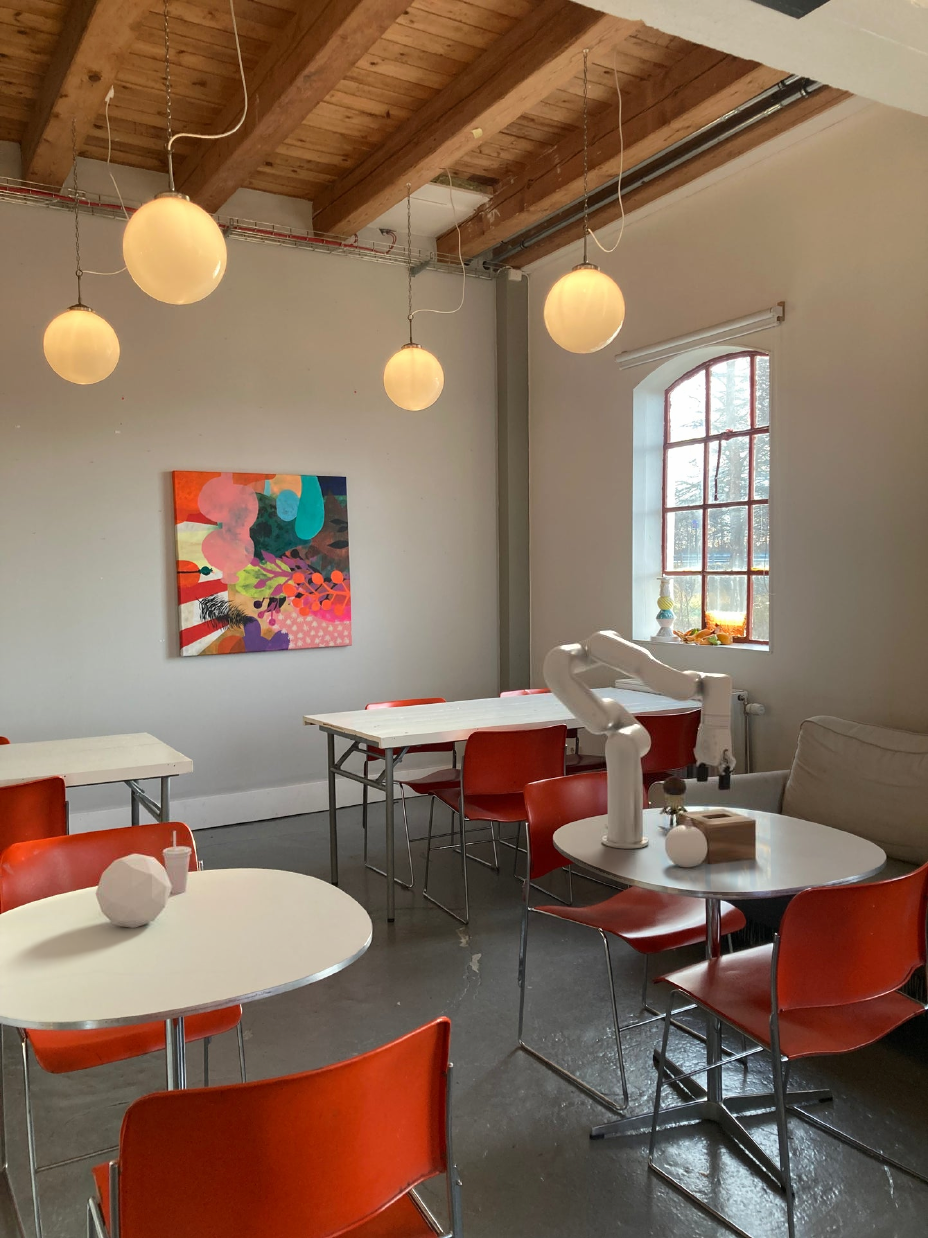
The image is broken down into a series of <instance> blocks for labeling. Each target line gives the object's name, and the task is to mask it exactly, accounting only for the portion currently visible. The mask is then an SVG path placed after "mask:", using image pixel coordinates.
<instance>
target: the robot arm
mask: <svg viewBox="0 0 928 1238" xmlns="http://www.w3.org/2000/svg"><path fill="white" fill-rule="evenodd" d="M602 665H604V666H607V667H609V668H611V669H614V670H615V671H618V672H620V673H622V674H624V675H627V676H629V677H631V678H633V679H634V680H636V681H637V683H640V684H642V685H644V686H645V687H647V688H648V689H650V690H653V691H655V692H656V693H659V694H661V695H663V696H665V697H667V698H670V699H671V700H675V701H677V702H687V701H690V700H694V699H701V710H700V723H699V726H698V730H697V735H696V744H695V747H694V748H693V754H694V760H695V762H696V763H695V766H696V782H698V783H707V782H708V781H709V766H712V767H717V769H718V771H719V773H720V774H718V784H717V785H718V786H717V787H718V788H717V789H718V790H719V791H728V790H729V791H730V789H731V776H732V774H733V771H734V770H735V767H736V763H737V760H736V758H735V757H734V756H733V754H732V751H733V750H732V745H733V744H732V732H731V720H732V719H731V718H732V695H733V694H732V693H733V679H732V677H731V676H730V675H728V674H724V673H706V672H700V671H695V670H685V671H680V670H678V669H675V668H673V667H671V666H668V665H666V664H664V663H662V662H661V661H659V660H657V659H656V658H655V657H654V656H653V655H652V654H651V652H650V651H649V650H648V649H646V648H645V647H641V646H639V645H637V644H635V643H632V642H630V641H628V640H625V639H624V638H623V636H622V635H621V634H619V633H618V632H616V631H614V630H601V631H596V632H594V633H593V634H592V635H590V636H589V638H587V639H584V640H581V641H578V642H575V643H572V644H564V645H559V646H556V647H553V648H552V649H551V650H549V651H548V653H547V655H546V656H545V659H544V661H543V667H542V671H543V672H542V673H543V679H544V682H545V684H546V685H547V688H548V689H549V690H550V691H551V693H552V694H553V695H554V696H555V697H556V698H557V700H559V701H560V702H561V704H563V706H565V708H566V709H567V710H568V711H569V712H570V713H571V714H572V715H573V717H575V718H576V720H577V721H579V723H580V724H581V725H582V726H583V727H584V728H585V729H586V731H588V732H590V734H594V735H603V734H605V735H606V736H607V740H606V743H605V746H604V748H605V749H604V752H605V753H604V755H605V763H606V771H607V773H606V774H607V776H606V777H607V778H606V779H607V824H605V825H604V828H605V829H606V830H607V834H606V835H604V836H602V839H601V842H602V844H604V845H605V846H608V847H611V848H615V849H625V850H627V849H630V850H631V849H642V848H644V847H645V848H646V847H647V846H648V845H649V844H650V843H649V839H648V838H647V837H645V836H644V833H643V832H644V831H643V830H644V827H643V826H644V825H643V823H644V821H643V819H644V817H643V816H644V813H643V812H644V811H643V810H644V808H643V807H644V805H643V804H644V803H643V802H644V797H643V795H644V794H643V793H644V790H643V788H644V787H643V783H644V782H643V781H644V780H643V779H644V778H643V769H642V761H641V758H642V757H644V756H645V755H647V754H648V752H649V750H650V749H651V744H652V740H651V739H652V738H651V736H650V734H649V732H648V730H647V729H646V728H645V727H644V726H643V724H641V722H640V721H638V720H637V719H636V718H635V716H633V714H632V713H630V712H629V711H628V709H626V708H625V706H623V705H622V704H621V703H620V702H619V701H617V700H616V699H612V698H609V697H602V698H600V697H599V696H598V695H597V694H596V693H595V692H594V691H593V690H592V689H591V688H590V687H589V686H588V685H587V684H586V683H585V682H583V681H582V680H581V679H580V678H578V677H577V676H576V674H579V673H582V672H584V671H588V670H590V669H593V668H596V667H599V666H602ZM708 765H709V766H708ZM724 767H725V768H724Z"/></svg>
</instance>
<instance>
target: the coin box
mask: <svg viewBox="0 0 928 1238" xmlns="http://www.w3.org/2000/svg"><path fill="white" fill-rule="evenodd" d="M678 814H679V826H680V825H684V823H685V821H686V818H690V819H691V822H692V825H693V827H696V828H697V829H699V830H700V831H701V832H702V833H703V835H704V836H705V838H706V841H707V854H706V856H705V858H704V860H703V861H702V862H704V863H707V864H709V865H712V864H719V863H721V864H722V863H728V862H737V861H744V860H745V861H746V860H747V861H748V860H755V859H757V856H756V855H757V853H756V852H757V850H756V849H757V845H756V844H757V842H756V839H757V836H756V835H757V832H756V831H757V829H756V828H757V825H756V824H757V820H756V819H754V818H751V817H748V816H745V815H743V814H740V813H737V812H733V811H731V810H728V809H725V808H716V809H705V810H704V809H703V810H694V811H692V810H691V811H688V812H683V811H681V812H679V813H678ZM687 824H689V823H687Z"/></svg>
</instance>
